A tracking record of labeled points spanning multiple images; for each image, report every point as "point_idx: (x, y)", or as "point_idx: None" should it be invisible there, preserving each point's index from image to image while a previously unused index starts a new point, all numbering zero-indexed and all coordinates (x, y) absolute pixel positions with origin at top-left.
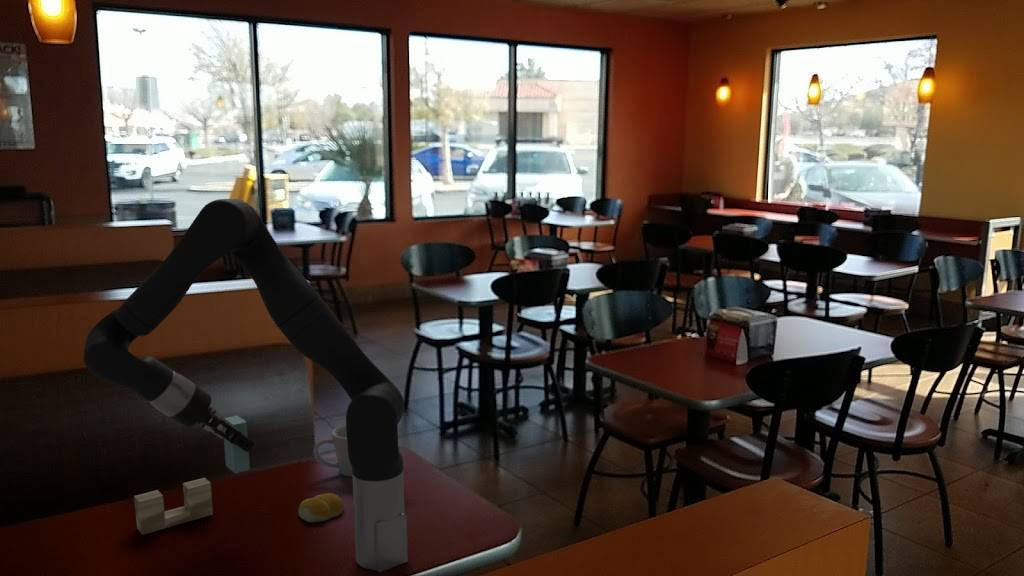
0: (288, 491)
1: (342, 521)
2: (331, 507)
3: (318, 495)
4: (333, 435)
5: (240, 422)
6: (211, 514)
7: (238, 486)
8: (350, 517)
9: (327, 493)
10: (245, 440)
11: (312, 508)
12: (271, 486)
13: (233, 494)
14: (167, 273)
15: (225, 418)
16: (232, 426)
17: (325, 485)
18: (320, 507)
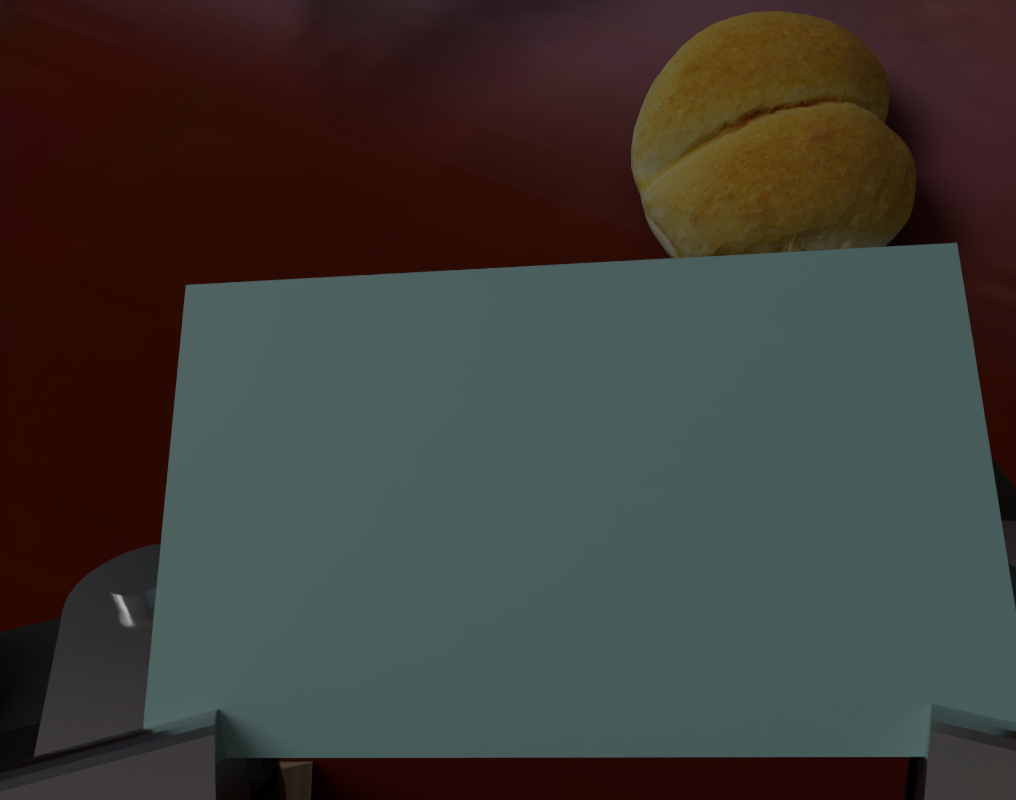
0: (324, 219)
1: (960, 112)
2: (874, 100)
3: (692, 104)
4: None
5: (899, 405)
6: (311, 773)
7: (15, 451)
8: (933, 56)
9: (716, 48)
10: (1000, 489)
11: (872, 206)
12: (176, 278)
13: (108, 523)
14: None
15: (200, 665)
16: (1008, 719)
17: (400, 17)
18: (889, 158)
